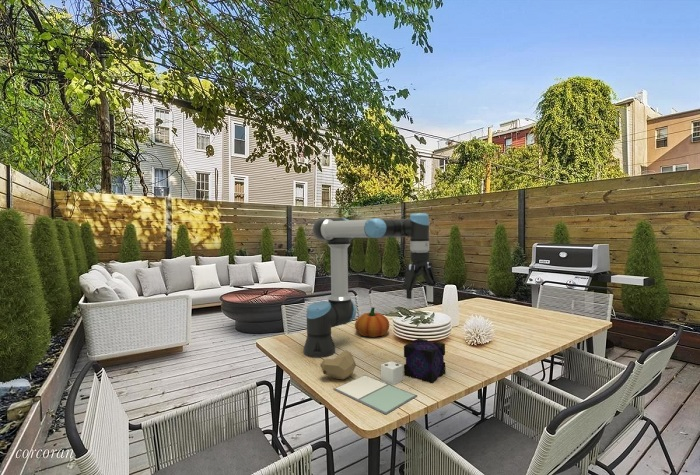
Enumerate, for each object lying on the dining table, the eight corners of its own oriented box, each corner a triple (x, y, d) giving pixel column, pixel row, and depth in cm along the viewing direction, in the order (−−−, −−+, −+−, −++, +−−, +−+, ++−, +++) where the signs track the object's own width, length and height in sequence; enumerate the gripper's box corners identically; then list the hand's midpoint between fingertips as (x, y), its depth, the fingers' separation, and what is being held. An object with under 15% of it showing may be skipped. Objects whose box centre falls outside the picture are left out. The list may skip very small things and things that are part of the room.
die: (380, 380, 133) (380, 364, 132) (390, 375, 137) (390, 360, 137) (393, 385, 128) (392, 369, 128) (402, 380, 132) (402, 364, 132)
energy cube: (418, 366, 146) (418, 338, 146) (445, 373, 138) (445, 343, 138) (404, 375, 137) (403, 345, 137) (432, 383, 129) (431, 352, 129)
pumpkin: (349, 332, 198) (349, 306, 198) (378, 327, 206) (378, 302, 206) (365, 341, 180) (364, 313, 180) (396, 336, 188) (395, 309, 188)
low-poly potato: (360, 372, 141) (340, 354, 147) (365, 355, 135) (344, 337, 141) (334, 394, 131) (314, 374, 137) (338, 377, 125) (317, 356, 131)
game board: (333, 389, 125) (333, 388, 125) (365, 375, 137) (365, 374, 137) (385, 414, 107) (385, 413, 107) (417, 396, 119) (417, 395, 119)
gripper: (408, 253, 127) (409, 310, 127) (444, 250, 144) (445, 300, 145) (393, 253, 132) (393, 307, 133) (429, 249, 150) (429, 298, 150)
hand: (420, 304), depth 139 cm, fingers open, 13 cm apart
